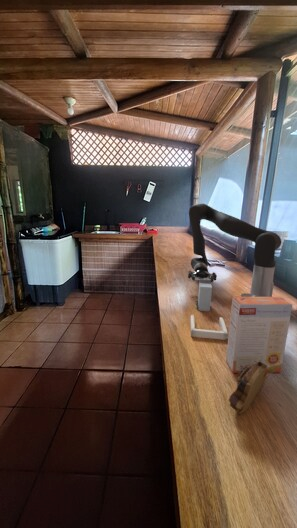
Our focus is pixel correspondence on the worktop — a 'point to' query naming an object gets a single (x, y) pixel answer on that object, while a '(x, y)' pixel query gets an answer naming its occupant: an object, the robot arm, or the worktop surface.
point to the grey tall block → (204, 295)
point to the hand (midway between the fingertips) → (202, 279)
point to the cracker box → (258, 332)
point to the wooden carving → (248, 386)
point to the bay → (209, 331)
